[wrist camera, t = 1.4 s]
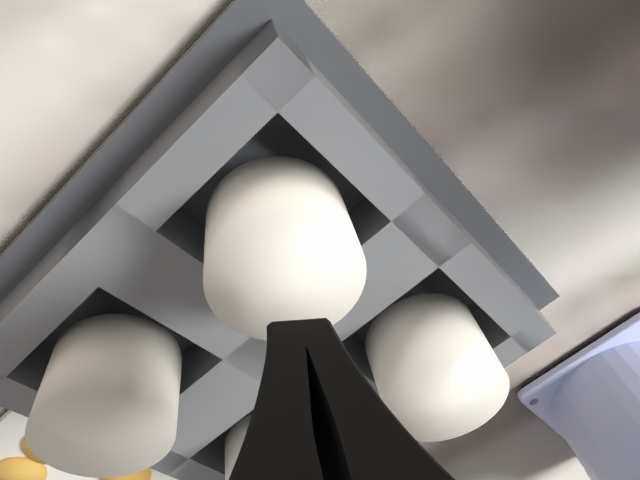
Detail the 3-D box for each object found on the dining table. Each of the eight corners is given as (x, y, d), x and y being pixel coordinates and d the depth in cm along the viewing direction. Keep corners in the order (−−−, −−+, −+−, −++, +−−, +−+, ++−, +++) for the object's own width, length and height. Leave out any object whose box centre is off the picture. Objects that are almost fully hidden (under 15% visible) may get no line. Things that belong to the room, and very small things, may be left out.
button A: (493, 330, 21) (531, 393, 19) (408, 389, 22) (433, 456, 20) (432, 273, 19) (466, 335, 16) (342, 342, 20) (360, 410, 18)
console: (550, 284, 24) (588, 330, 22) (271, 480, 29) (276, 535, 27) (268, -40, 15) (278, -26, 13) (-64, 324, 20) (-104, 385, 18)
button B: (345, 433, 23) (361, 502, 21) (275, 482, 25) (282, 553, 22) (275, 393, 21) (283, 464, 19) (203, 449, 22) (200, 523, 20)
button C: (371, 215, 17) (398, 274, 15) (276, 295, 18) (285, 362, 16) (276, 126, 15) (288, 177, 12) (175, 223, 16) (167, 288, 14)
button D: (207, 353, 19) (205, 425, 17) (132, 416, 21) (119, 492, 18) (104, 292, 17) (83, 365, 15) (27, 367, 19) (-6, 446, 16)
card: (189, 466, 27) (188, 477, 27) (116, 521, 29) (114, 533, 28) (24, 394, 23) (20, 406, 22) (-50, 464, 24) (-56, 477, 24)
